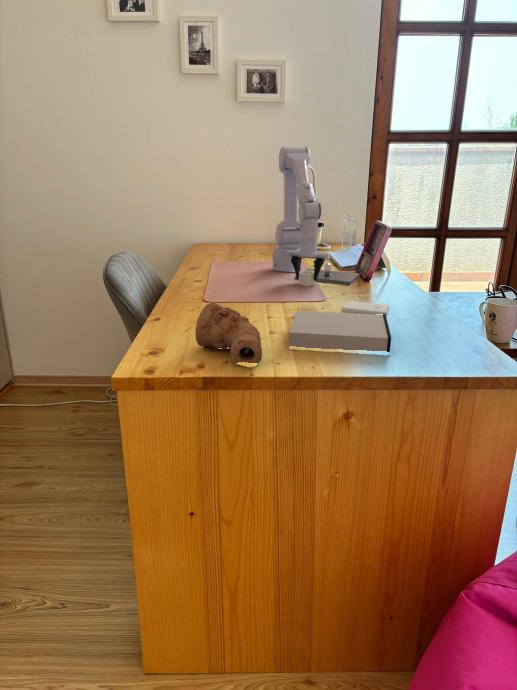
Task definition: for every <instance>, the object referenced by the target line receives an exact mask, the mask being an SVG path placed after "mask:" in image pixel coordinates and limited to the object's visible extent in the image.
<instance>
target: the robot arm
mask: <svg viewBox="0 0 517 690" xmlns="http://www.w3.org/2000/svg"><path fill="white" fill-rule="evenodd" d="M278 153H279V154H278V168H279V170H278V171H279V172H281V174H283V220H282V221H280V222H279V223H278V224H277V225H276V228H275V234H274V235H275V236H274V237H275V244H276V246H275V247H274V248H273V252H272V268H271V270H272V271H274V270H275V271H276V272H287V273H295V276H296V278H297V279H296V280H299V272H300V271H302V267H301V266H302V259H311V260H312V259H313V269H314V281H315V282H317V281H316V280H318V275H319V272H320V270H322V266H323V265H324V263H325V262H326V261H329V260H330V255H331V254H330V253H329V252H328V253H327V252H320V251H317V250H318V233H319V232H318V229H319V227H318V226H319V220H320V219H321V216H322V204H321V201H319V199H318V198H316V194H315V190H314V185H313V184H312V183H310V182H309V175H308V169H307V168H308V166H309V163H310V160H311V152H310V149H309V147H308V146H305V147H298V146H297V147H295V146H294V147H293V146H292V147H290V146H289V147H285V146H281V148H280V150H279V152H278ZM298 204H299V205H298ZM297 207H298V208H297ZM297 209H298V210H297ZM297 213H298V216H297ZM297 217H298V220H297ZM299 247H300V251H299Z"/></svg>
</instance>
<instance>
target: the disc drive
mask: <svg viewBox="0 0 517 690" xmlns="http://www.w3.org/2000/svg"><path fill="white" fill-rule="evenodd" d="M290 326H291V327H290V330H289V334H288V335H289V338H288V339H289V340H288V343H289V344H288V347H289V346H296V347H305V348H321V349H343V350H367V351H370V350H371V351H387V352H390V353H391V346H392V335H391V331H390V326H389V323H388V319H387V316H386V314H383V315H376V314H366V313H356V312H336V311H335V312H332V311H316V310H315V311H313V310H295V314H294V317H293V320H292V323H291V325H290Z"/></svg>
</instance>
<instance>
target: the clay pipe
mask: <svg viewBox="0 0 517 690" xmlns="http://www.w3.org/2000/svg"><path fill="white" fill-rule="evenodd" d="M194 332H195V333H194V335H195V342H196V343H197V345H198V346H199V347H201V346H213V347H214V348H215V349H216V348H222V350H225V349H224V348H227V347H229V348H231V349H230V351H229V352H230V358H231V360H232V362H233V363H234V364H235V363H238V362H246V363H247V362H248V363H257V364H258V363H259V364H260V362H261V361H262V359H263V348H262V342H261V333H260V331H259V330H258V328H257V327H256V326H255V325H254V324H252V323H251V322H250V321H249V318H248V317H247V316H245V315H241V312H239V311H237V310H235V309H233V308H231V307H223V306H222V305H220V304H218V303H217V302H214V301H213V302H212V301H211V302H210V303H207V304H206V305H205V306H204V307H203V308H202V310H201V311H200V313H199V315H198V317H197V321H196V324H195V330H194ZM259 364H258V365H259Z"/></svg>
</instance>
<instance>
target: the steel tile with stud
mask: <svg viewBox="0 0 517 690" xmlns="http://www.w3.org/2000/svg"><path fill="white" fill-rule="evenodd" d="M303 271H314V268H306V269H304V270H303ZM359 277H360V273H358V272H347V271H339V270H337V271H336V270H332V264H331V263H330V262H327V263H325V264H324V269H320V272H319V275H318V280H316V281H315V282H319V283H320V282H322V283H329V284H331V283H333V284H339V285H340V284H341V285H352V284H353V283H354V282H356V280H357V279H358V278H359ZM294 280H298V279H297V278H296V275H295V276H294Z"/></svg>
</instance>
